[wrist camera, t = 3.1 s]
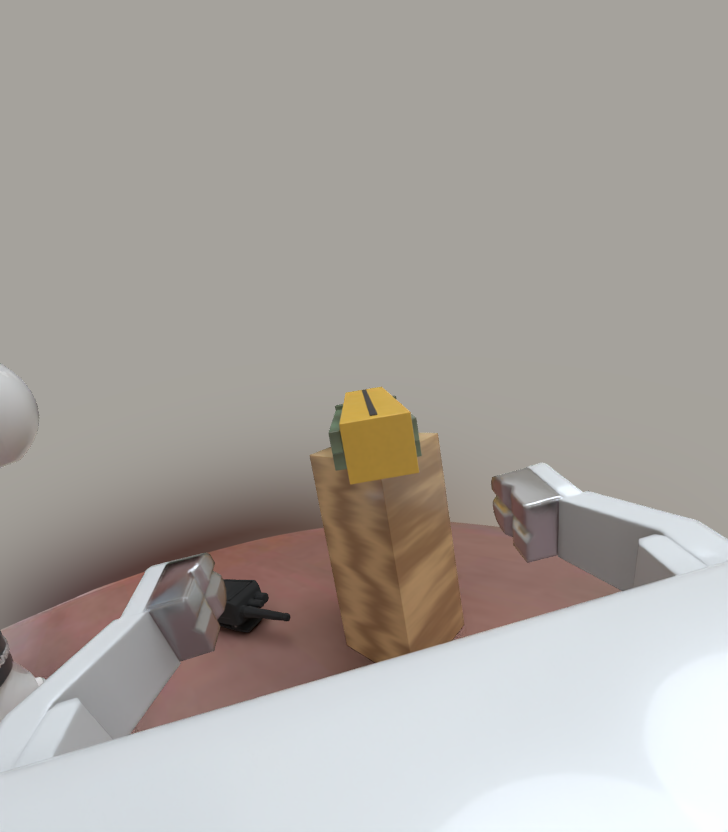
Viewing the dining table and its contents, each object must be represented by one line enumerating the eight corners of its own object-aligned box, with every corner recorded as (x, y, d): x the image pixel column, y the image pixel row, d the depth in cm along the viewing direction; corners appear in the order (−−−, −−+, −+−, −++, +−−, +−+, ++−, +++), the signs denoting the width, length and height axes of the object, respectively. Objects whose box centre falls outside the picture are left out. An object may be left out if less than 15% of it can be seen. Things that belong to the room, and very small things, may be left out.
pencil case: (419, 472, 23) (410, 410, 22) (350, 485, 23) (338, 422, 22) (386, 418, 45) (381, 386, 44) (351, 424, 45) (345, 392, 44)
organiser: (487, 680, 35) (452, 405, 31) (345, 705, 35) (290, 433, 31) (447, 585, 50) (419, 391, 46) (347, 602, 50) (310, 409, 46)
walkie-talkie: (218, 579, 57) (316, 588, 48) (203, 623, 54) (306, 643, 44) (185, 570, 53) (286, 578, 43) (167, 618, 50) (272, 638, 40)
